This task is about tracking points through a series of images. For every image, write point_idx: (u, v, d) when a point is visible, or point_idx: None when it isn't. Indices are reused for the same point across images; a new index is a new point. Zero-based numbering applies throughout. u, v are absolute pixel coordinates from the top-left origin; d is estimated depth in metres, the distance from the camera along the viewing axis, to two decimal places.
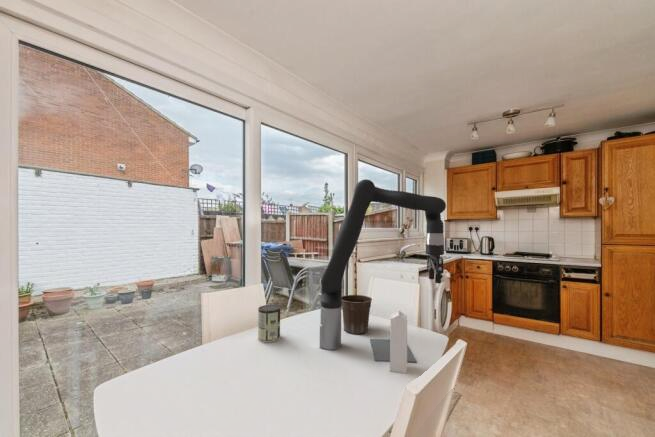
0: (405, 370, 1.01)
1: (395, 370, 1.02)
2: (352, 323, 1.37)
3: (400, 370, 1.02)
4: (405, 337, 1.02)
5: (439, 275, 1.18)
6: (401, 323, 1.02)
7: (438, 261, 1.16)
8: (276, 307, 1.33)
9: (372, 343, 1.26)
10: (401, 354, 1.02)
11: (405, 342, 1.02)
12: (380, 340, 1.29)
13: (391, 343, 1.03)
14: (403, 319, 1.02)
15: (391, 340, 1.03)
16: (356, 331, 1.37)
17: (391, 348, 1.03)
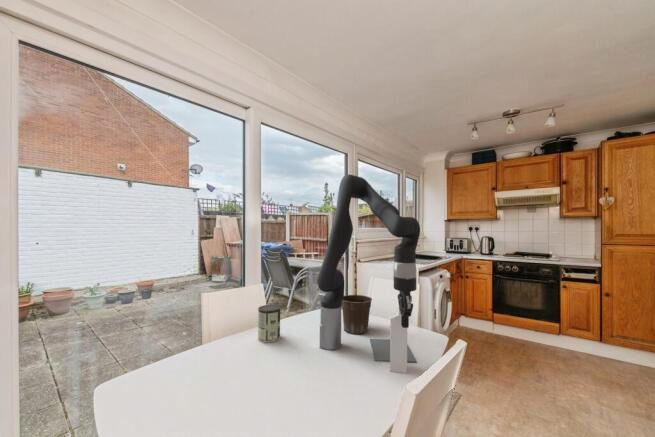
0: (405, 370, 1.01)
1: (395, 370, 1.02)
2: (352, 323, 1.37)
3: (400, 370, 1.02)
4: (405, 337, 1.02)
5: (406, 318, 0.94)
6: None
7: (406, 307, 0.90)
8: (276, 307, 1.33)
9: (372, 343, 1.26)
10: (401, 354, 1.02)
11: (405, 342, 1.02)
12: (380, 340, 1.29)
13: (391, 343, 1.03)
14: None
15: (391, 340, 1.03)
16: (356, 331, 1.37)
17: (391, 348, 1.03)
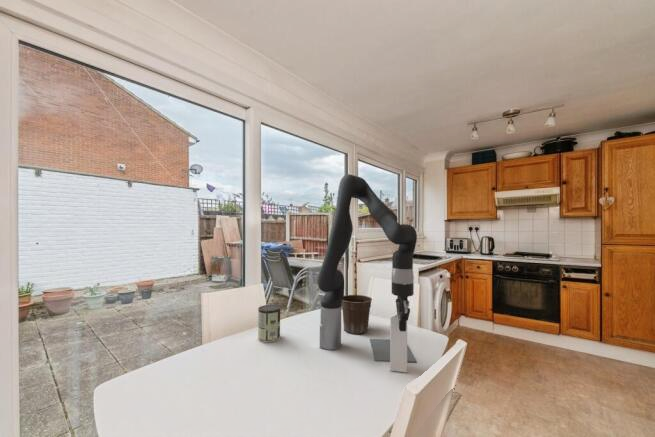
0: (405, 369, 1.01)
1: (395, 369, 1.02)
2: (352, 323, 1.37)
3: (400, 369, 1.02)
4: (405, 336, 1.02)
5: (403, 322, 0.98)
6: None
7: (403, 312, 0.94)
8: (276, 307, 1.33)
9: (372, 343, 1.26)
10: (401, 353, 1.02)
11: (405, 341, 1.02)
12: (380, 340, 1.29)
13: (391, 342, 1.03)
14: None
15: (391, 339, 1.03)
16: (356, 331, 1.37)
17: (391, 347, 1.03)
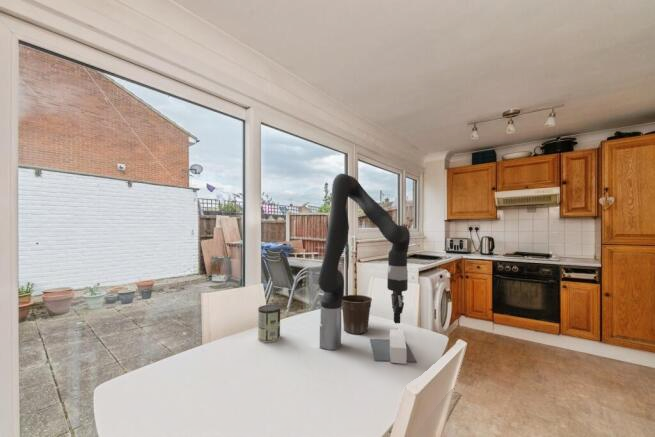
0: (404, 347, 1.08)
1: (395, 346, 1.09)
2: (352, 323, 1.37)
3: (400, 346, 1.09)
4: (402, 335, 1.20)
5: (398, 315, 1.07)
6: (399, 331, 1.25)
7: (398, 305, 1.03)
8: (276, 307, 1.33)
9: (372, 343, 1.26)
10: (400, 341, 1.14)
11: (403, 337, 1.18)
12: (380, 340, 1.29)
13: (391, 337, 1.18)
14: (400, 330, 1.26)
15: (391, 336, 1.19)
16: (356, 331, 1.37)
17: (391, 338, 1.16)
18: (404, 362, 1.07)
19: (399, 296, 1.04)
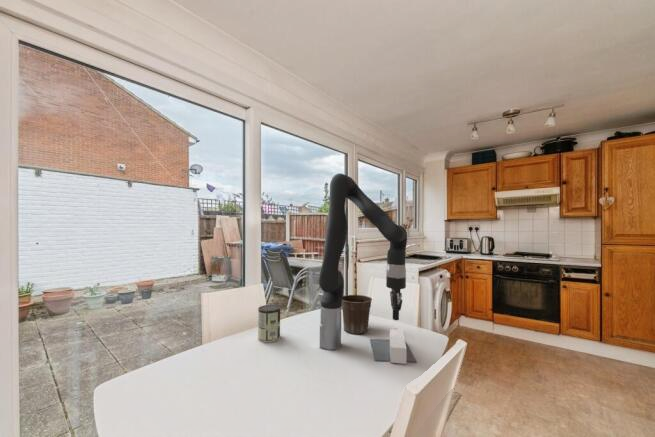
0: (404, 347, 1.08)
1: (395, 346, 1.09)
2: (352, 323, 1.37)
3: (400, 346, 1.09)
4: (402, 335, 1.20)
5: (397, 312, 1.10)
6: (399, 331, 1.25)
7: (396, 303, 1.06)
8: (276, 307, 1.33)
9: (372, 343, 1.26)
10: (400, 341, 1.14)
11: (403, 337, 1.18)
12: (380, 340, 1.29)
13: (391, 337, 1.18)
14: (400, 330, 1.26)
15: (391, 336, 1.19)
16: (356, 331, 1.37)
17: (391, 338, 1.16)
18: (404, 362, 1.07)
19: (398, 294, 1.08)
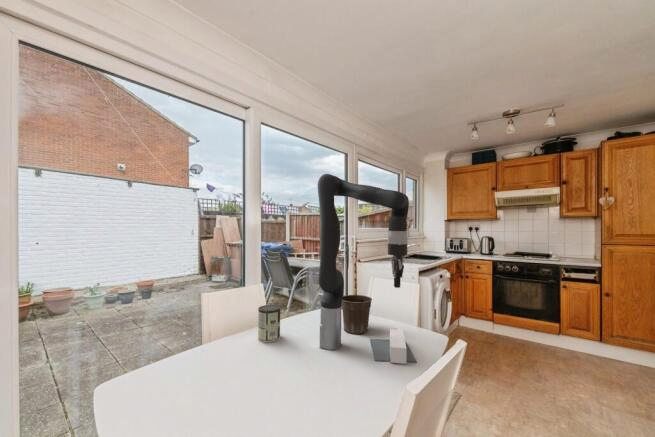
0: (404, 347, 1.08)
1: (395, 346, 1.09)
2: (352, 323, 1.37)
3: (400, 346, 1.09)
4: (402, 335, 1.20)
5: (398, 279, 1.09)
6: (399, 331, 1.25)
7: (398, 268, 1.05)
8: (276, 307, 1.33)
9: (372, 343, 1.26)
10: (400, 341, 1.14)
11: (403, 337, 1.18)
12: (380, 340, 1.29)
13: (391, 337, 1.18)
14: (400, 330, 1.26)
15: (391, 336, 1.19)
16: (356, 331, 1.37)
17: (391, 338, 1.16)
18: (404, 362, 1.07)
19: (399, 260, 1.07)
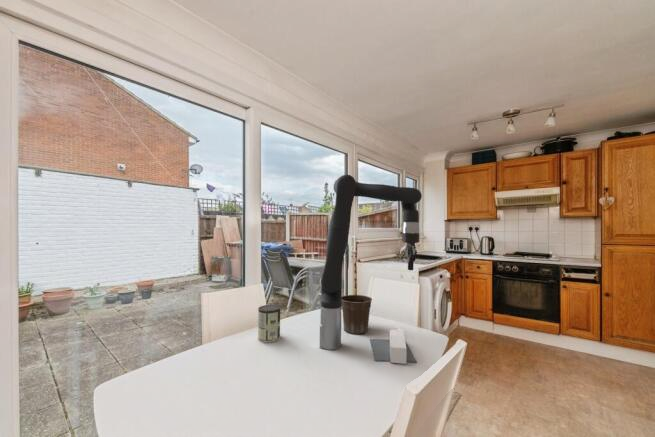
0: (404, 347, 1.08)
1: (395, 346, 1.09)
2: (352, 323, 1.37)
3: (400, 346, 1.09)
4: (402, 335, 1.20)
5: (411, 263, 1.28)
6: (399, 331, 1.25)
7: (412, 253, 1.24)
8: (276, 307, 1.33)
9: (372, 343, 1.26)
10: (400, 341, 1.14)
11: (403, 337, 1.18)
12: (380, 340, 1.29)
13: (391, 337, 1.18)
14: (400, 330, 1.26)
15: (391, 336, 1.19)
16: (356, 331, 1.37)
17: (391, 338, 1.16)
18: (404, 362, 1.07)
19: (413, 246, 1.26)
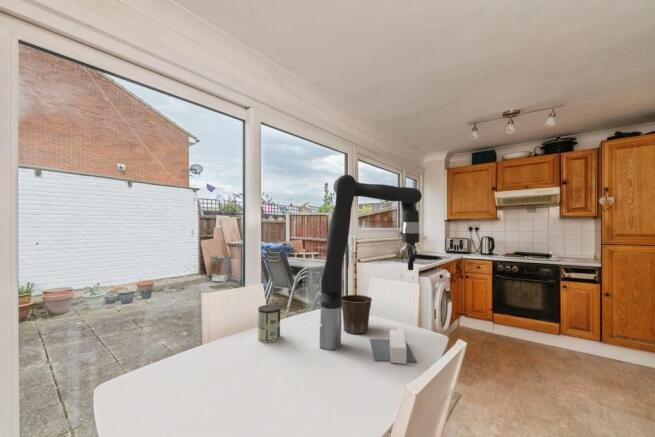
0: (404, 347, 1.08)
1: (395, 346, 1.09)
2: (352, 323, 1.37)
3: (400, 346, 1.09)
4: (402, 335, 1.20)
5: (411, 263, 1.28)
6: (399, 331, 1.25)
7: (412, 253, 1.24)
8: (276, 307, 1.33)
9: (372, 343, 1.26)
10: (400, 341, 1.14)
11: (403, 337, 1.18)
12: (380, 340, 1.29)
13: (391, 337, 1.18)
14: (400, 330, 1.26)
15: (391, 336, 1.19)
16: (356, 331, 1.37)
17: (391, 338, 1.16)
18: (404, 362, 1.07)
19: (413, 246, 1.26)
